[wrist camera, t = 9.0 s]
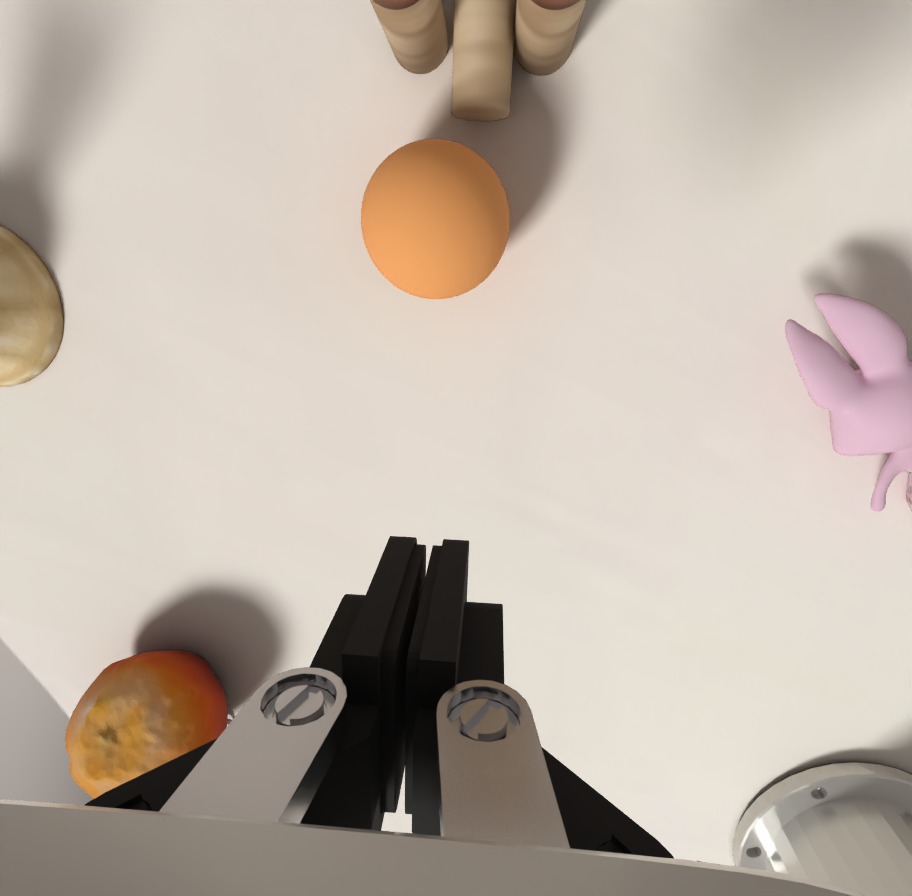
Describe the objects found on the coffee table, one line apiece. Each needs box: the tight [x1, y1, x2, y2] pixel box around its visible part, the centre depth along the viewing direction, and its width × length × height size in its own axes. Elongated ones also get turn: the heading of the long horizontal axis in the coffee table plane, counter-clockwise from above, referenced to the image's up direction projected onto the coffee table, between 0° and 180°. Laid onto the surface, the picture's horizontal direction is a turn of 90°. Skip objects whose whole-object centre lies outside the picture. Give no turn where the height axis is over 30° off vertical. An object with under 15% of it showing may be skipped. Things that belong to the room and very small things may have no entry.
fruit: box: [65, 650, 232, 799], centre depth 32 cm, size 8×8×8 cm
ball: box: [361, 139, 510, 299], centre depth 23 cm, size 6×6×6 cm
